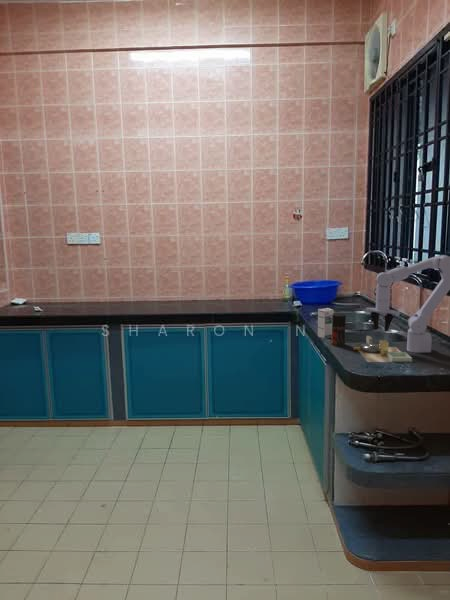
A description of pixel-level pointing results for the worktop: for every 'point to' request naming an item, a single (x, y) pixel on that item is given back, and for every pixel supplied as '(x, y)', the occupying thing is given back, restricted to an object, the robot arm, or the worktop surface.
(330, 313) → the syrup box
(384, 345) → the block
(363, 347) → the crank
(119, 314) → the worktop surface
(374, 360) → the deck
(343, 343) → the deodorant
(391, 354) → the tray
